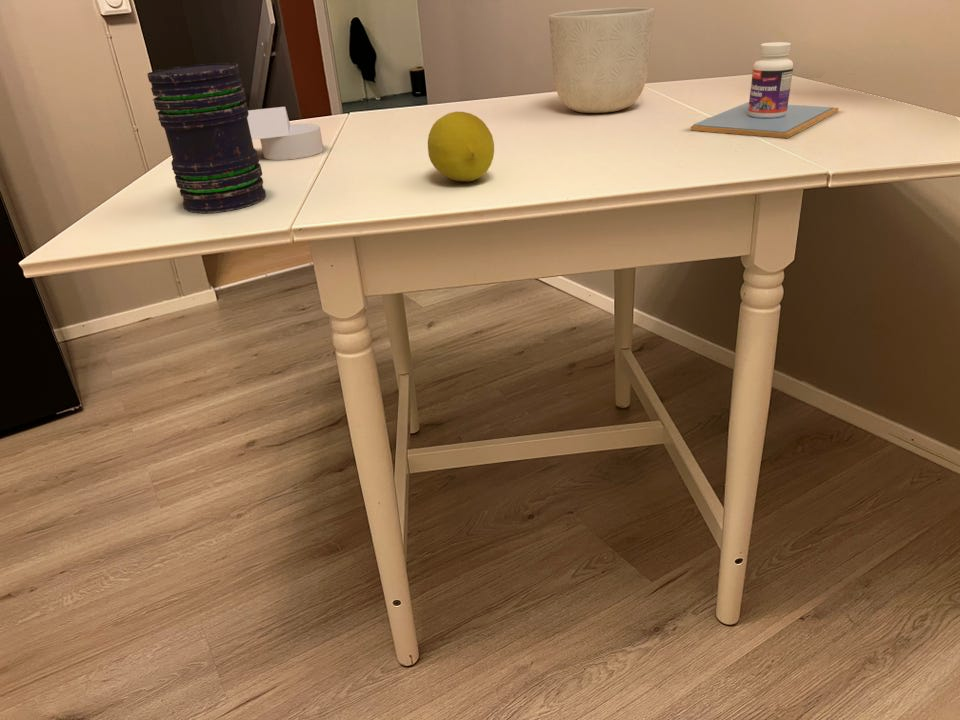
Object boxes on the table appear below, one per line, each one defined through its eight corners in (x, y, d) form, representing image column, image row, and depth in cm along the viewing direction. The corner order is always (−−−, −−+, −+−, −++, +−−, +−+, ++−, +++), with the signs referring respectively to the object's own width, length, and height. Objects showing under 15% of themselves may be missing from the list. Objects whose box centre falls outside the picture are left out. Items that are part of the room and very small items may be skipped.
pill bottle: (740, 116, 105) (747, 45, 100) (760, 110, 108) (768, 41, 103) (774, 120, 101) (783, 46, 96) (793, 113, 104) (804, 41, 99)
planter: (646, 98, 128) (651, 5, 121) (652, 116, 114) (658, 11, 106) (553, 102, 131) (551, 11, 124) (547, 120, 116) (545, 18, 109)
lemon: (503, 186, 83) (500, 115, 79) (438, 194, 82) (431, 123, 78) (485, 166, 92) (481, 101, 88) (426, 173, 91) (419, 108, 87)
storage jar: (239, 185, 92) (210, 62, 85) (283, 195, 86) (256, 63, 79) (167, 206, 85) (129, 74, 78) (209, 218, 79) (172, 76, 72)
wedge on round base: (234, 165, 102) (324, 155, 104) (222, 117, 99) (316, 107, 101) (239, 153, 110) (323, 143, 112) (228, 108, 107) (315, 99, 109)
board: (838, 111, 107) (839, 106, 106) (787, 138, 94) (788, 132, 94) (747, 106, 115) (748, 101, 115) (690, 130, 103) (690, 124, 102)
